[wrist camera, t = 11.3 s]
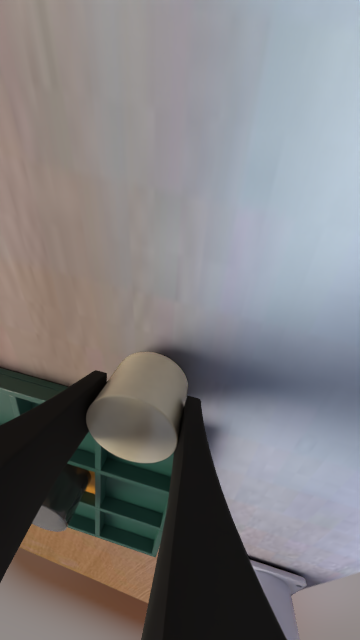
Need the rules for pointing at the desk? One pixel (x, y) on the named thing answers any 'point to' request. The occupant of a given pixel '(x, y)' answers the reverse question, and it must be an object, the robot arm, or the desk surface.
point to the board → (102, 477)
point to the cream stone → (140, 409)
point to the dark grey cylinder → (63, 499)
